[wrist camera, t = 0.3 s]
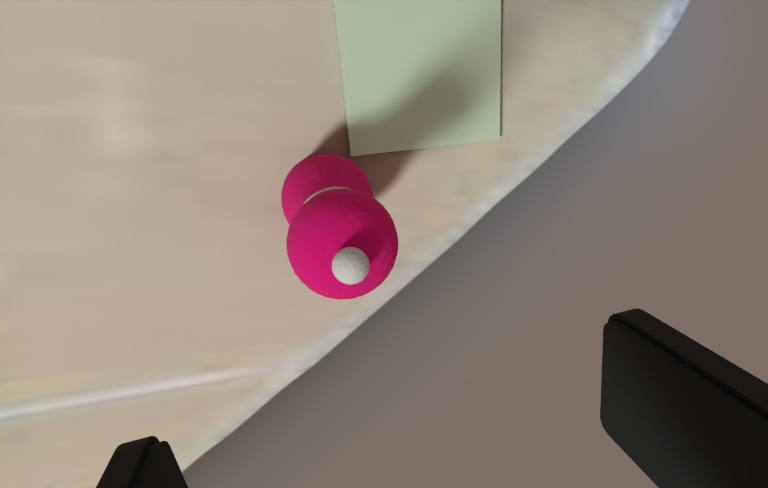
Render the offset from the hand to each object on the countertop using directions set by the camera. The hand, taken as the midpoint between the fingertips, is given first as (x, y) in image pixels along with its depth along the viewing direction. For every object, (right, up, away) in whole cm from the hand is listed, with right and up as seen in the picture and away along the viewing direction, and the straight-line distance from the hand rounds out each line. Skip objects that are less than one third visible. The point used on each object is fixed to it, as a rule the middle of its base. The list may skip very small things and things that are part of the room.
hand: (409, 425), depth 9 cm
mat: (+3, +19, +27) cm, 33 cm away
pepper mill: (-6, +9, +29) cm, 31 cm away
